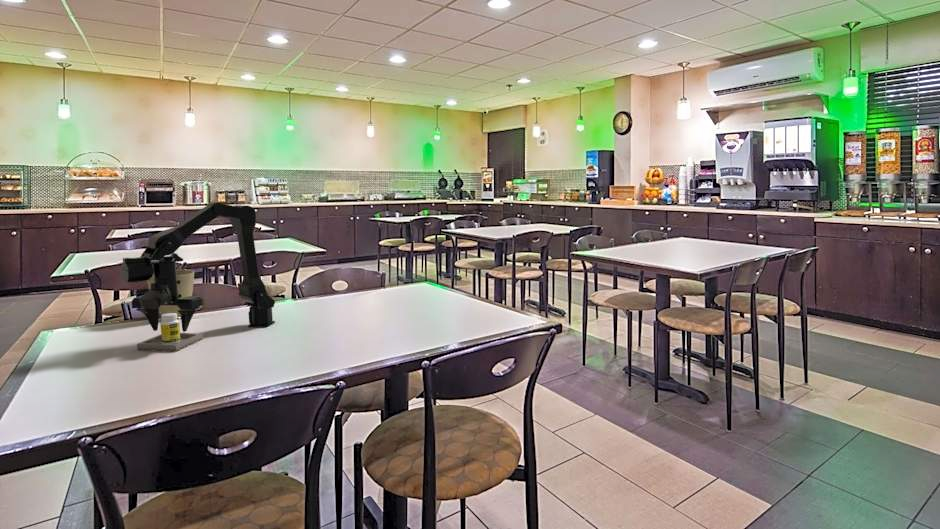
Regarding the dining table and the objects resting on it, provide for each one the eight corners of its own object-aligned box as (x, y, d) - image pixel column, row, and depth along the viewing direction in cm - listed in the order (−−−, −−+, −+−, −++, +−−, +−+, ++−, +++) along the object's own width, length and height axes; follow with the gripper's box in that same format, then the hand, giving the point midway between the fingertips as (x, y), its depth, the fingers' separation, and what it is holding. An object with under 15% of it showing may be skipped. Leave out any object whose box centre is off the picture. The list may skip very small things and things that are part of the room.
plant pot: (143, 318, 187) (138, 273, 185) (187, 310, 198) (184, 268, 196) (159, 325, 178) (155, 278, 175) (205, 316, 189) (201, 272, 186)
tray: (203, 339, 161) (202, 333, 161) (176, 351, 149) (175, 345, 149) (166, 338, 162) (166, 332, 162) (137, 350, 151) (136, 343, 150)
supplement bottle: (172, 345, 153) (169, 316, 152) (158, 344, 154) (155, 315, 153) (184, 340, 158) (182, 312, 156) (170, 339, 159) (168, 312, 157)
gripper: (113, 282, 146) (119, 337, 148) (176, 284, 144) (181, 340, 146) (143, 275, 157) (148, 327, 159) (202, 277, 155) (206, 329, 157)
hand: (170, 331), depth 155 cm, fingers open, 9 cm apart
